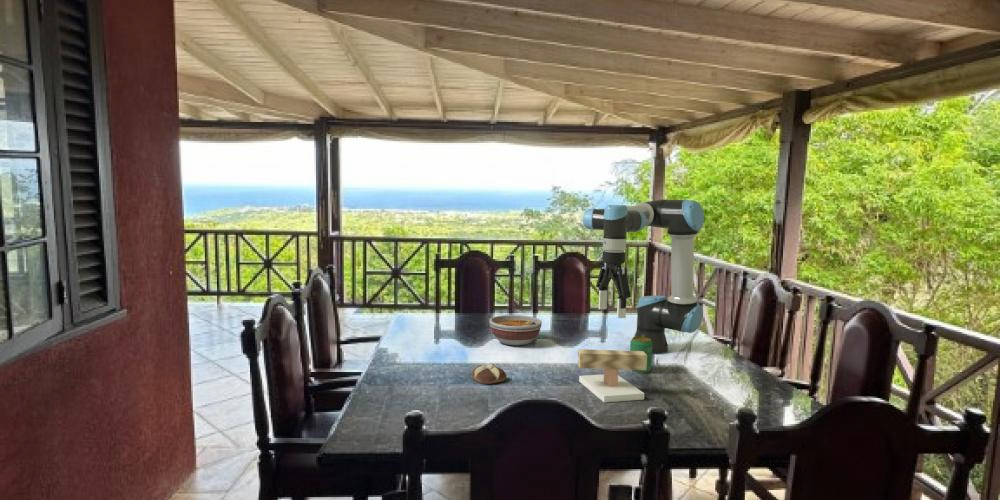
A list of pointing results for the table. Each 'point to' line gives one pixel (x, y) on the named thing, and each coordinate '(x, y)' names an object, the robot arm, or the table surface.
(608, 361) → the oak bar
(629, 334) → the table surface
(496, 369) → the bread
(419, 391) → the table surface
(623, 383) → the fulcrum
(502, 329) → the bowl
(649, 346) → the beverage can
